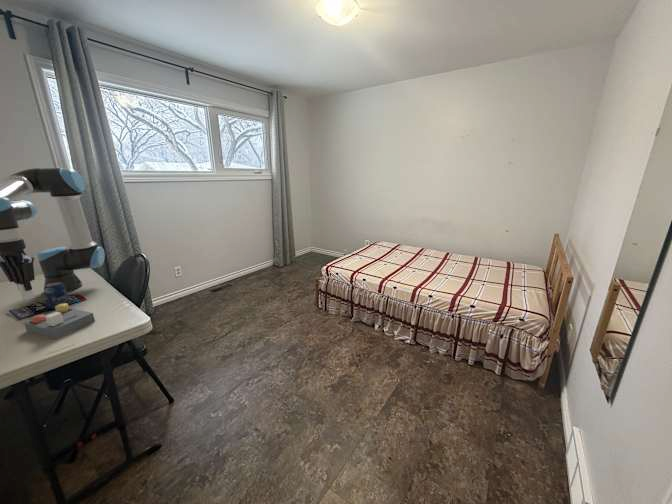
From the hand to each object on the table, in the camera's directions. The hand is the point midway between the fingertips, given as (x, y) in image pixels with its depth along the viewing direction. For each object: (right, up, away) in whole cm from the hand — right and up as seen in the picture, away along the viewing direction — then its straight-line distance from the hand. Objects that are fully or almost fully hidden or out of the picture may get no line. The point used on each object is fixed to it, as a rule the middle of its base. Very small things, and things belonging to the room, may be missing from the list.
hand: (28, 297), depth 106 cm
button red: (-1, -11, +5) cm, 13 cm away
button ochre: (+1, -8, +12) cm, 15 cm away
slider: (+9, -11, +2) cm, 14 cm away
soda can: (-13, -9, +25) cm, 29 cm away
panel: (+5, -13, +8) cm, 16 cm away
